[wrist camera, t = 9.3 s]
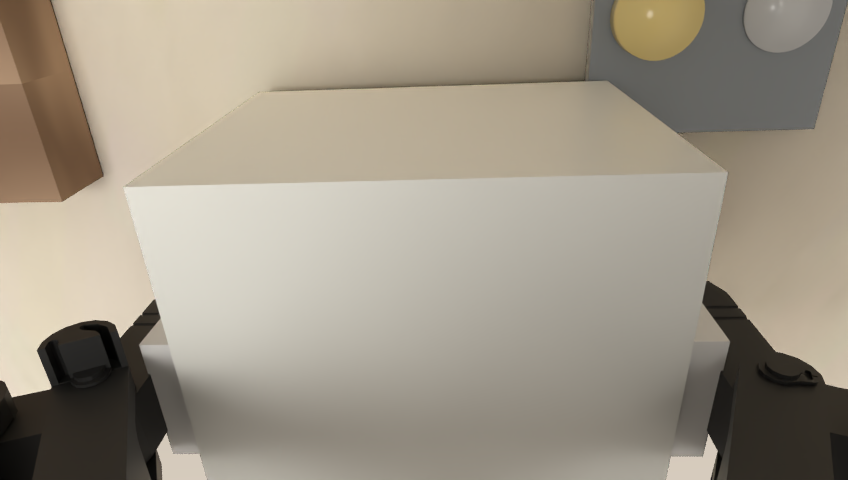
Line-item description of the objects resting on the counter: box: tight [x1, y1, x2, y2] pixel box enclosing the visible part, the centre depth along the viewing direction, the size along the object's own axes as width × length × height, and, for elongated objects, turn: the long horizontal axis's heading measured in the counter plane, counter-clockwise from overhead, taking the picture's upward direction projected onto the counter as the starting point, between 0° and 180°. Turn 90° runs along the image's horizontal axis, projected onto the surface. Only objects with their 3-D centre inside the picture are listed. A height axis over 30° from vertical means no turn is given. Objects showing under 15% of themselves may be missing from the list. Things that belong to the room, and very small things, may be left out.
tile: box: [585, 0, 848, 133], centre depth 14 cm, size 6×6×1 cm
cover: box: [123, 81, 728, 480], centre depth 14 cm, size 9×9×7 cm
